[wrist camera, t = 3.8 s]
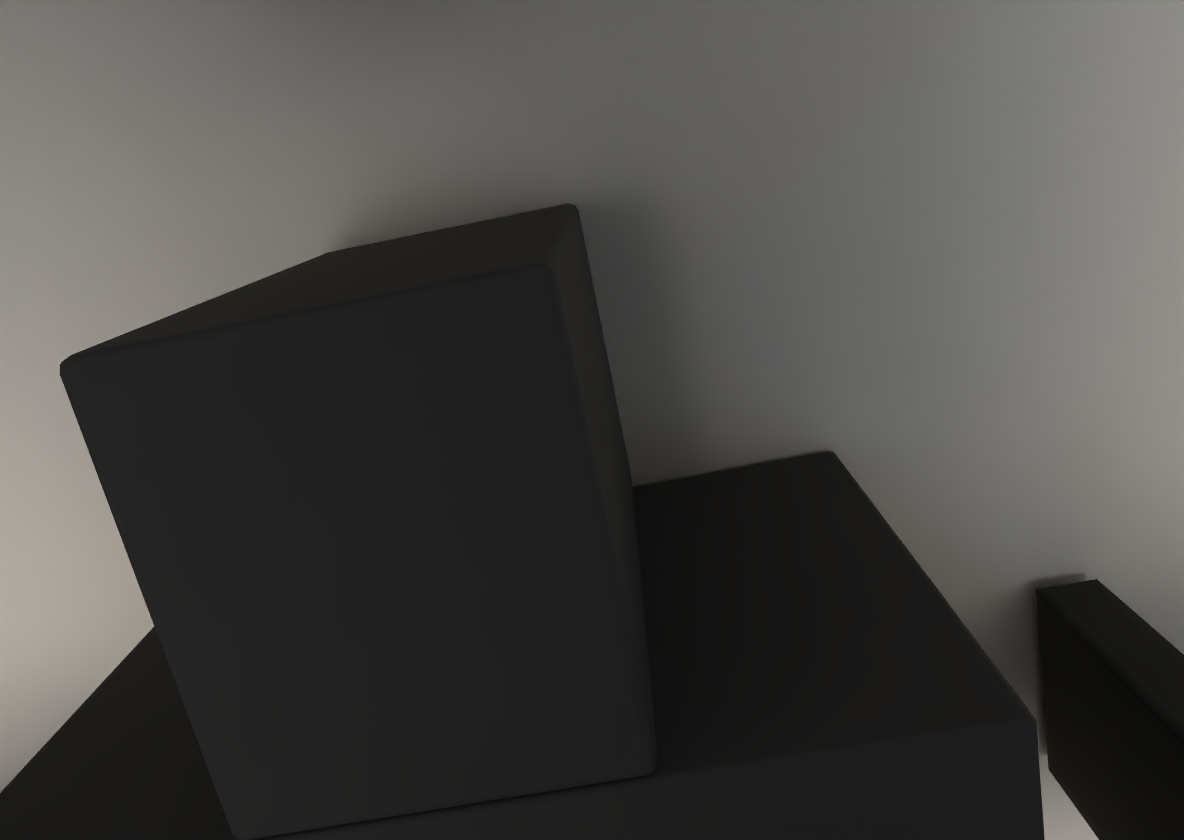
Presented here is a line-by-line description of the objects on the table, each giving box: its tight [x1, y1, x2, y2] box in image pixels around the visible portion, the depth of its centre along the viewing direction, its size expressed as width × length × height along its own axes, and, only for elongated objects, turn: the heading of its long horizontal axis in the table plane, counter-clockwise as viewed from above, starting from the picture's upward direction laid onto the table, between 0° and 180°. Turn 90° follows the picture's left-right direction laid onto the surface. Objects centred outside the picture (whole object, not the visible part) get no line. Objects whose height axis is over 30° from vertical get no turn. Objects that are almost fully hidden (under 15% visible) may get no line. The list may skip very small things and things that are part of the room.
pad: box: [0, 204, 1044, 840], centre depth 9 cm, size 8×10×6 cm
